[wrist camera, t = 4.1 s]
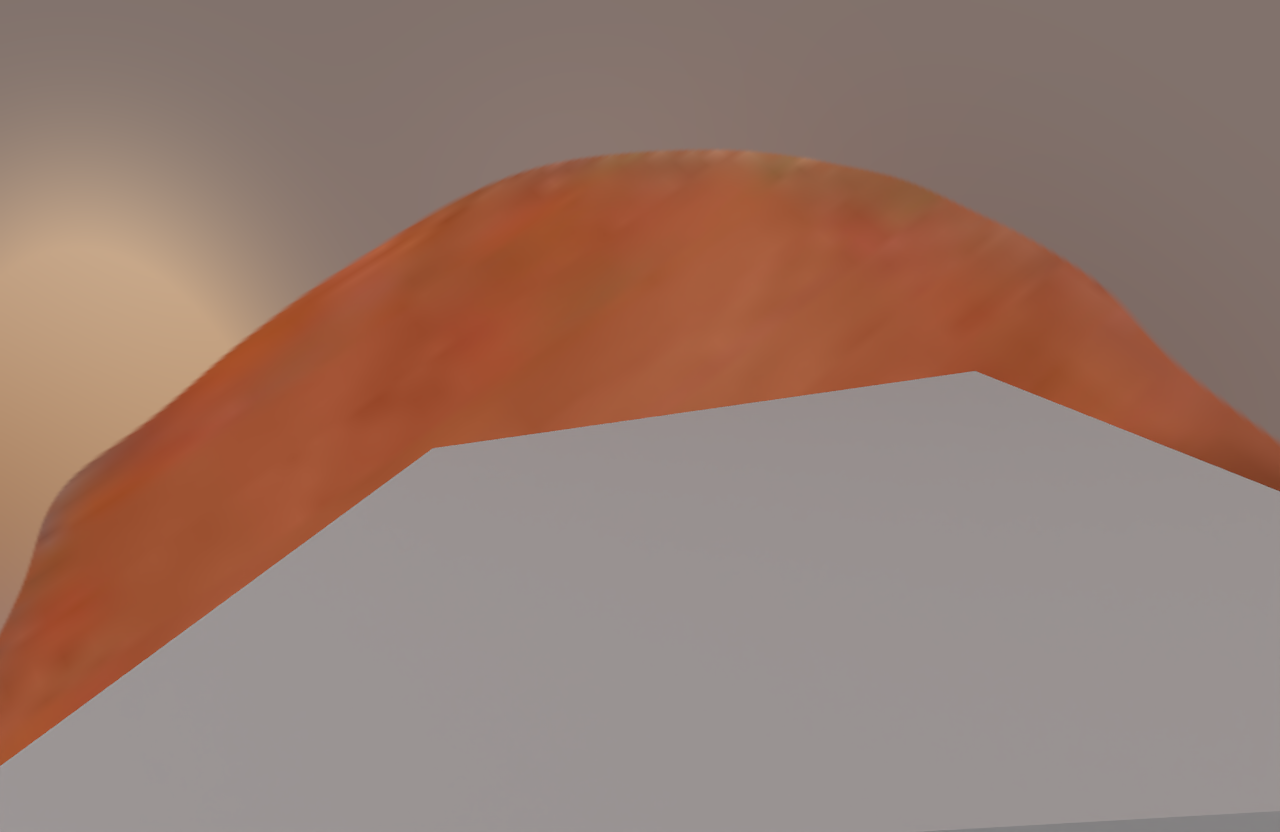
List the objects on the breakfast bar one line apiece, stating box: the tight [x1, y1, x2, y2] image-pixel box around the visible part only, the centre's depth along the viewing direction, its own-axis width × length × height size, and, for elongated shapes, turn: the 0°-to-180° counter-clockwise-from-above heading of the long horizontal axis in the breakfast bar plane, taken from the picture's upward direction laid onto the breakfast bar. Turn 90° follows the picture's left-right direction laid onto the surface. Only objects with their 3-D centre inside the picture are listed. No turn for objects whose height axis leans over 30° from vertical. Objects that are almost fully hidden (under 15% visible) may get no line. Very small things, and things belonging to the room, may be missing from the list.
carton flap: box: [0, 371, 1280, 832], centre depth 10 cm, size 12×14×1 cm
